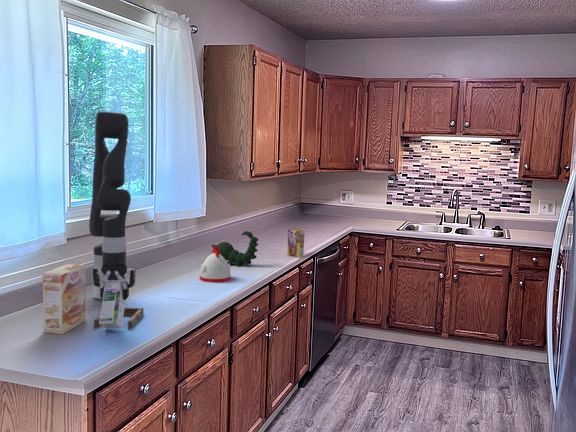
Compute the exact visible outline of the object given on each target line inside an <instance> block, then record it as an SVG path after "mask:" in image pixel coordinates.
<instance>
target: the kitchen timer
mask: <svg viewBox="0 0 576 432" xmlns="http://www.w3.org/2000/svg"><path fill="white" fill-rule="evenodd" d="M231 276H232V275H231V266H230V264H228V261H227V260H225V259H224V257H223V256H221V255H220V254H219V251H218V248H217V247H216V246H214V248H213V247H212V250H211V254H210V255H208V256H207V257H206V259H205V260H204V261H203V263H201V265H200V272H199V281H202V282H203V283H204V282H205V283H214V282H218V283H226V282H229V281H230V280H232V279H231V278H232V277H231ZM225 281H226V282H225Z"/></svg>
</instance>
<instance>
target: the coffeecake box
mask: <svg viewBox="0 0 576 432" xmlns="http://www.w3.org/2000/svg"><path fill="white" fill-rule="evenodd" d="M42 301H43V302H42V303H43V305H42V306H43V308H42V309H43V316H42V317H43V333H46V334H56V335H57V334H58V335H64V334H65V333H67V332H69V331H71V330H72V329H74V328H76V327H77V326H80V325H82V324H83V323H84V322H86V319H87V318H86V315H87V314H86V313H87V312H86V265H84V264H83V265H82V264H73V263H72V264H71V263H66V264H64V265H62V266H59V267H56V268H53V269H51V270H48V271H45V272H42Z"/></svg>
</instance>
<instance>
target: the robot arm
mask: <svg viewBox="0 0 576 432" xmlns="http://www.w3.org/2000/svg"><path fill="white" fill-rule="evenodd" d="M94 121H95V123H94V129H95V130H94V162H93V172H92V197H91V198H92V199H91V206H90V208H91V209H90V214H89V215H90V216H89V221H88V222H89V225H88V228H89V229H88V230H89V233H90V236H92V237H95V238H97V237H100V238H101V237H102V241H101V243H98V244H96V245H95V246H94V247H93V269H92V275H93V276H92V278H93V293H94V294H93V297H94V298H95V299H97V300H103V293H104V286H105V283H106V282H118V281H120V283H121V284H122V286H123V288H124V289H123V300H125V301H126V300H128V298H129V297H130V289H131V288H133V287H135V283H136V274H137V269H136V268H128V266H127V241H126V221H127V214H128V212H129V208H130V205H131V200H132V199H131V198H132V197H131V193H130V192H129V191H128V189H126V188H125V189H123V188H121V187H123V186H124V184H125V181H126V180H125V177H126V176H125V162H126V161H125V160H126V153H127V147H128V146H127V144H128V137H129V118H128V116H127V114H125V113H122V112H115V111H105V110H102V111H98V112H97V113H96V115H95V120H94ZM105 139H114V140H115V139H117V142H116V144H115V146H114V147H113V148H112V149H111V150H109V149H108V147H107V144H106V141H105ZM102 211H106V212H102ZM108 211H109V212H108ZM112 211H113V212H112ZM114 211H116V212H114ZM117 211H118V213H117ZM126 273H128V274H127V275H129V282H128V279H127V277H126Z"/></svg>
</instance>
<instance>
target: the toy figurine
mask: <svg viewBox="0 0 576 432" xmlns="http://www.w3.org/2000/svg"><path fill="white" fill-rule="evenodd" d="M241 236H247V237H248V238H250V239H249V240H250V241H249V243H248V246H247V250H246V251H245V252H240V251H239V250H237V249H235V248H234V246H233V245H232V243H229V242H228V241H222V242H220V243H218V244H210V245H211V247H212V249H213V248H214V246H216V247H217V248H218V251H219V254H220V255H221V256H223V257H224V259H225V260H226V261H227V263H228V264H230V265H233V264H236V267H240V266H241V265H245V266H248V265H250V264H252V260H254V259H257V255H256V254H255V253H256V252H258V249H257V247H258V246H259V244H258V241H259V238H258V237H256V236H254V234H253V233H252V232H251V231H249V230H248V231H243V232H242V233H241Z"/></svg>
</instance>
